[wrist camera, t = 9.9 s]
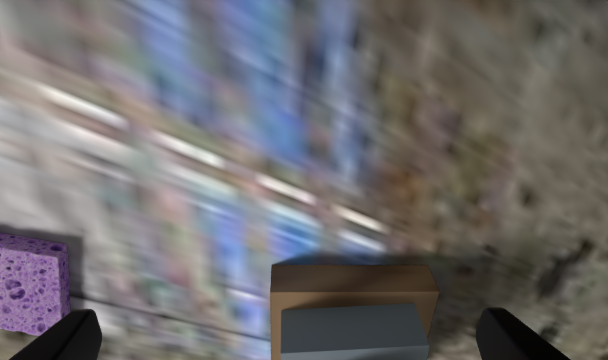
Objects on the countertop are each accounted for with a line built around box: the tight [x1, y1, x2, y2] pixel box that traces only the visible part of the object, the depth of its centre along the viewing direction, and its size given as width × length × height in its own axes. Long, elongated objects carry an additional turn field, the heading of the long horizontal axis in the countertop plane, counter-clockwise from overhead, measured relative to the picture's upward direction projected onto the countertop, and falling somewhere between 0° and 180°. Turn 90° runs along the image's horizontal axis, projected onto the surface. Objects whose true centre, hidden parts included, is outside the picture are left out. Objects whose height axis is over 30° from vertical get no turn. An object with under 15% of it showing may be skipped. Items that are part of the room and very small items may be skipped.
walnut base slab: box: [270, 265, 440, 360], centre depth 27 cm, size 10×10×3 cm
